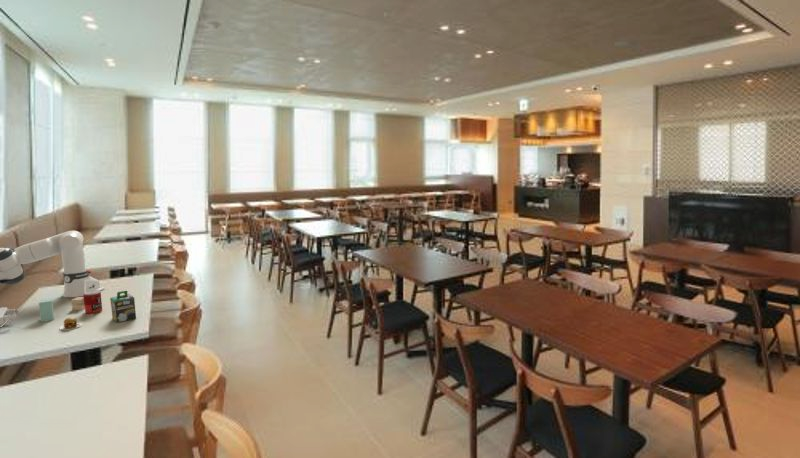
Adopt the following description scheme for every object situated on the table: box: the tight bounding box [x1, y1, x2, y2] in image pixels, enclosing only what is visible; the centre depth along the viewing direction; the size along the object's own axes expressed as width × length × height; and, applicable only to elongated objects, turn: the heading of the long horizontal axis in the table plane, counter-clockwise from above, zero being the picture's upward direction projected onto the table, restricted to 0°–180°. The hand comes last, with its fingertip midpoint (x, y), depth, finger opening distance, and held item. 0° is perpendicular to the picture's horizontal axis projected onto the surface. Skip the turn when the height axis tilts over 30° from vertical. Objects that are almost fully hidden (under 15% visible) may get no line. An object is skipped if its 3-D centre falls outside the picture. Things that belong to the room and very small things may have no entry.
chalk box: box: [109, 290, 137, 323], centre depth 234 cm, size 9×9×15 cm
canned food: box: [83, 290, 103, 315], centre depth 245 cm, size 8×8×11 cm
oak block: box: [71, 296, 85, 311], centre depth 251 cm, size 5×5×6 cm
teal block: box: [38, 298, 55, 323], centre depth 233 cm, size 5×5×10 cm
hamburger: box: [59, 317, 82, 331], centre depth 222 cm, size 12×12×6 cm
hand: (17, 313), depth 227 cm, fingers open, 8 cm apart
